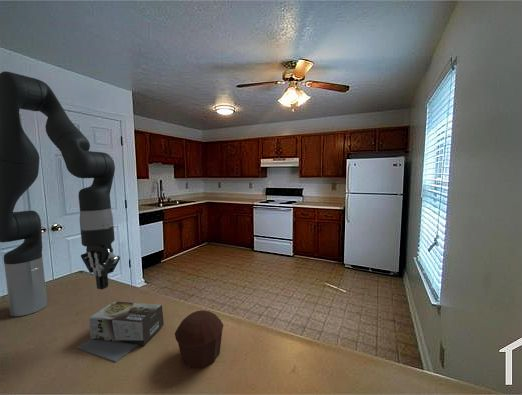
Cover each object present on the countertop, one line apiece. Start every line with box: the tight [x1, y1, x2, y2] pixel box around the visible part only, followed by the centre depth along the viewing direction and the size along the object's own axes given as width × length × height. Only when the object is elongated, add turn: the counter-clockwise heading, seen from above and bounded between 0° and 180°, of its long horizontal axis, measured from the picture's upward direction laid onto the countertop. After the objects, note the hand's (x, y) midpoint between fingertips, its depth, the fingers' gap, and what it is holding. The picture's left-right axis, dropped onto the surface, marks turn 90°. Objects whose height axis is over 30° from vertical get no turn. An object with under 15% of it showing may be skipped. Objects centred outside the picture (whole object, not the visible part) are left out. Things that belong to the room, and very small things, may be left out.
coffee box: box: [88, 301, 164, 346], centre depth 69 cm, size 9×6×16 cm
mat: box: [77, 338, 140, 363], centre depth 68 cm, size 14×14×1 cm
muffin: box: [174, 310, 224, 369], centre depth 60 cm, size 12×11×10 cm
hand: (102, 288), depth 69 cm, fingers closed
